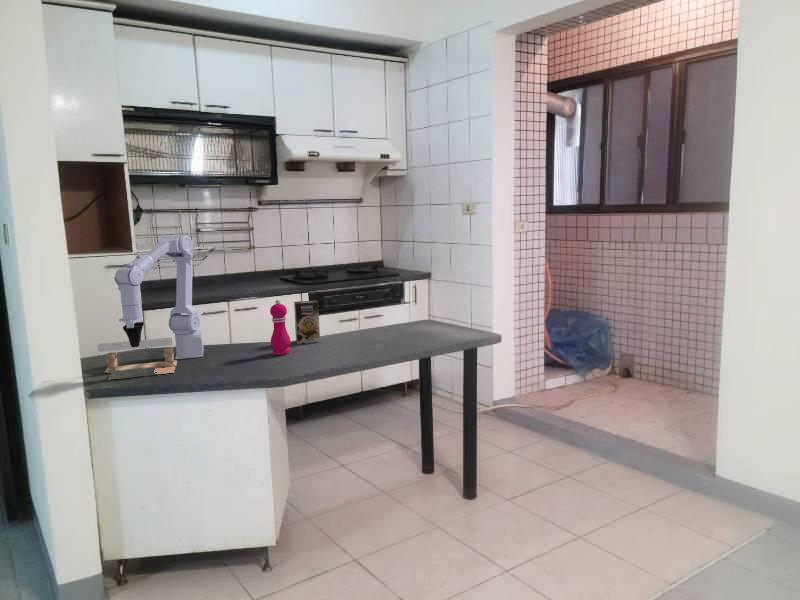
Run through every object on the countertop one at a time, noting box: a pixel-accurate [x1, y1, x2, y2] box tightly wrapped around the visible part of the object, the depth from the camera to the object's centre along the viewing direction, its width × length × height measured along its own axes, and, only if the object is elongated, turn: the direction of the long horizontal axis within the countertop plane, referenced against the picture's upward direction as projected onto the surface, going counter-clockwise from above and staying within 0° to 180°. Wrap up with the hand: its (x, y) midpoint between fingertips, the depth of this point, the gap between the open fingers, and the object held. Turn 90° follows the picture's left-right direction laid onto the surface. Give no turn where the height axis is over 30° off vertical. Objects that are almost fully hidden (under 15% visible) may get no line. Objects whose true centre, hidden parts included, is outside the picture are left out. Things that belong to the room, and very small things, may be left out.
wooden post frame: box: [104, 346, 178, 373], centre depth 200 cm, size 22×6×6 cm, turn 107°
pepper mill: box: [269, 299, 292, 356], centre depth 213 cm, size 7×7×20 cm
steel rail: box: [97, 337, 173, 353], centre depth 191 cm, size 22×2×2 cm, turn 107°
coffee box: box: [293, 300, 321, 345], centre depth 231 cm, size 9×6×16 cm
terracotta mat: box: [154, 367, 176, 375], centre depth 193 cm, size 20×8×1 cm, turn 107°
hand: (135, 345), depth 191 cm, fingers closed on steel rail, 2 cm apart
